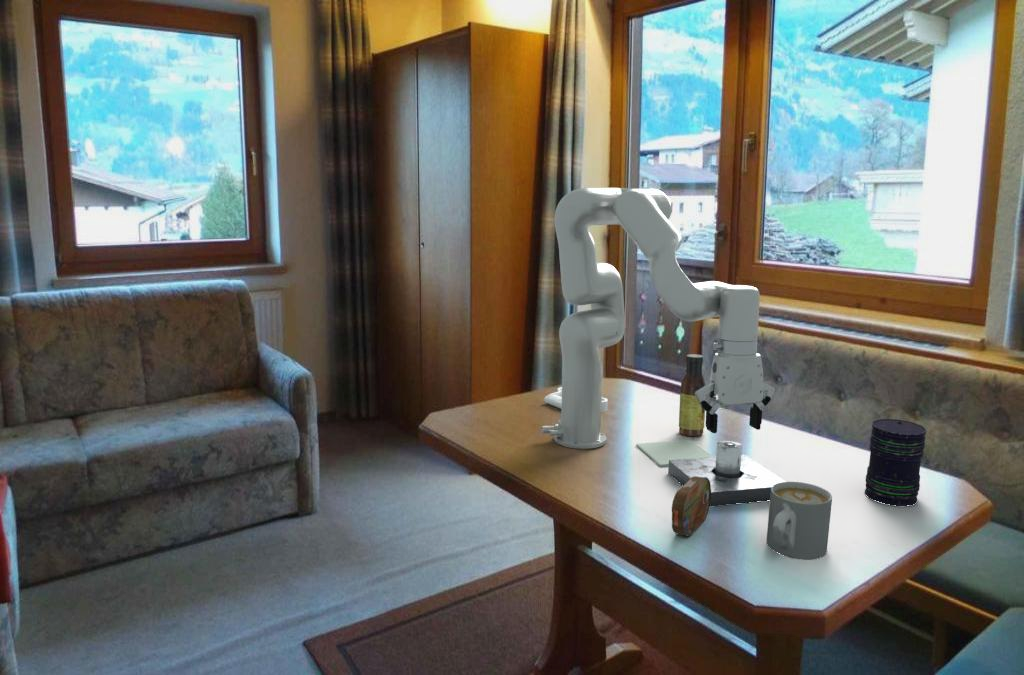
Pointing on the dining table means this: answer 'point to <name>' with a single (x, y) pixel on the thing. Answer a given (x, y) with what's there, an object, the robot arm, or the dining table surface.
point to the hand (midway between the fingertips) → (733, 429)
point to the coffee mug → (799, 520)
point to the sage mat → (672, 451)
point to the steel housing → (727, 480)
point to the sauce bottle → (691, 398)
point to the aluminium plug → (728, 459)
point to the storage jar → (895, 461)
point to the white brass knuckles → (556, 400)
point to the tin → (691, 505)
